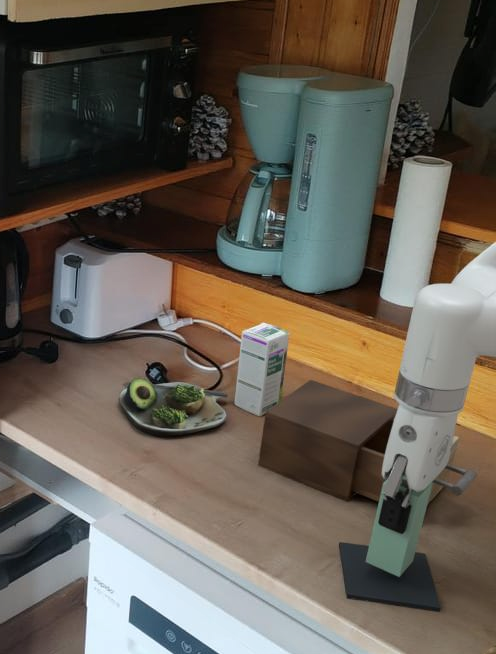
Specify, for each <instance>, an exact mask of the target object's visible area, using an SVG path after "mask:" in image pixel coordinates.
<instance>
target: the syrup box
mask: <svg viewBox="0 0 496 654" xmlns="http://www.w3.org/2000/svg"><path fill="white" fill-rule="evenodd" d="M290 335H291V334H290V331H288V330H285V329H283V328H281V327H279V326H277V325H274V324H270V323H266V322H261V323H260V324H257V325H255V326H252V327H249V328H247V329H244V330H242V331H241V339H240V346H239V347H240V349H239V356H238V357H239V358H238V366H237V374H236V376H237V377H236V383H235V384H236V385H235V394H234V403H233V404H234V406H236V407H238V408H240V409H241V410H243V411H246V412H248V413H251V414H253V415H255V416H257V417H262V416H264V415H265V414H266V411H267V410H269V409H270V408H271V407H273V406H274V405H276V404H277V403H278V402H280V401H281V400H282V394H283V386H284V379H285V372H286V371H285V370H286V366H287V365H286V363H287V356H288V350H289V349H288V347H289V341H290Z"/></svg>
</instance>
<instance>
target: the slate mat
mask: <svg viewBox="0 0 496 654" xmlns="http://www.w3.org/2000/svg"><path fill="white" fill-rule="evenodd" d="M338 548H339V555H340V563H341V569H342V576H343V583H344V588H345V595H347V596H346V598H347V599H351V598H355V599H354V600H358V599H359V601H365V600H368V601H367V602H371V603H372V602H373V603H379V602H381V603H380V604H385V605H386V604H388V605H392V604H393V606H399V607H400V606H401V607H406V606H408V607H407V608H413V607H414V609H422V610H427V611H435V612H441V610H442V606H441V602H440V599H439V595H438V592H437V589H436V585H435V582H434V578H433V574H432V572H431V568H430V564H429V560H428V557H427V553H424V552H417V551H415V555H414V559H413V562H412V563H411V564H410V565H409V566H408V568H407V569H406V570H405V571H404V572H403V573H402V575H401V576H400V577H398V576H396V575H394V574H391V573H389V572H387V571H385V570H383V569H380V568H378V567H376V566H374V565H371V564H369V563H367V562H366V557H367V553H368V549H369V545H366V544H359V543H351V542H344V541H339V542H338Z"/></svg>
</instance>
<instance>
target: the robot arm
mask: <svg viewBox="0 0 496 654" xmlns="http://www.w3.org/2000/svg"><path fill="white" fill-rule="evenodd" d="M480 356H483V357H484V356H485V357H492V358H496V241H494V242H493V243H492V244H490V245H489V246H488V247H487V248H486V249H485V250H483V251H482V252H481V253H479V254H478V255H477V256H476V257H475V258H473V259H472V260H471V261H470V262H469V263H468V264H466V265H465V266H464V267H463V268H462V269H461V270H460V272H458V274H457V275H456V276H455V277H454V278H453V280H452V281H451V282H450V283H431V284H428V285H426V286H424V287H422V288H421V289H420V290H419V291H418V293H417V294H416V296H415V298H414V302H413V306H412V311H411V316H410V320H409V324H408V329H407V333H406V338H405V343H404V347H403V352H402V356H401V361H400V365H399V370H398V375H397V379H396V384H395V388H394V391H393V397H394V399H395V401H396V402H397V403H398V404H399V405H398V406H397V409H398V410H397V413H396V416H395V418H394V422H393V426H392V429H391V433H390V436H389V440H388V444H387V448H386V452H385V456H384V461H383V466H382V476H383V478H384V479H385V480H386V479H388V480H387V483H386V485H385V487H384V490H383V495H384V497H383V503H382V508H381V512H380V516H379V521H378V523H379V525H381V526H383V527H385V528H388V529H390V530H392V531H395V532H397V533H400V534H403V533H404V532H405V531H406V527H407V523H408V519H409V515H410V511H411V507H412V506H410V505H409V503H410V499H411V496H412V493H413V490H415V491H416V492H420V491H422V490H424V489H425V488H426V487H427V486H428V485H429V484H430V483H431V482H432V481H433V480H434V479H435V478H436V477H437V476H438V475H439V474H440V473H441V471H442V470H443V469H444V468H445V467H446V465H447V463H448V461H449V457H450V452H451V447H452V443H453V438H454V436H455V433H456V429H457V428H456V427H457V422H458V417H459V414H460V413H461V412H462V411H463V410H464V406H465V404H466V403H465V402H466V398H467V395H468V390H469V387H470V384H471V380H472V376H473V372H474V368H475V364H476V361H477V358H478V357H480ZM403 477H406V478H407V480H405V479H403ZM400 486H402V487H405V488H407V489H406V492H405V495H404V494H403V493H402V492H400V491H399V487H400Z"/></svg>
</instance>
